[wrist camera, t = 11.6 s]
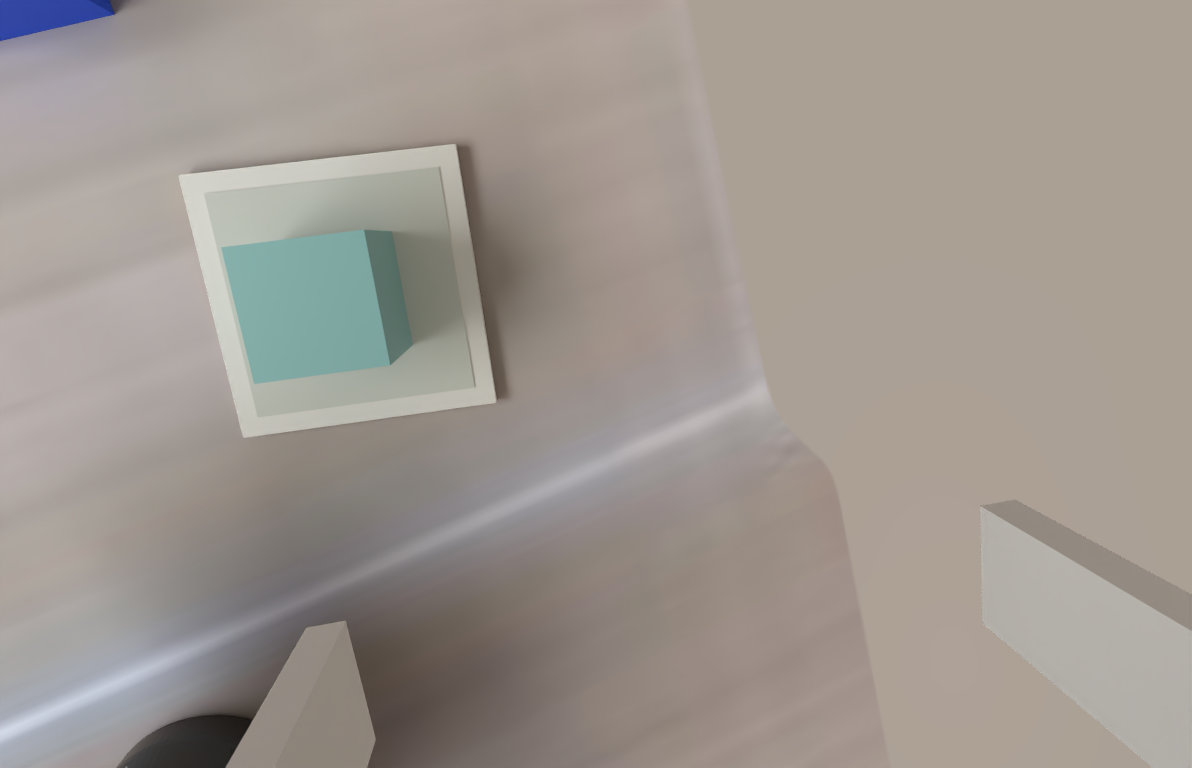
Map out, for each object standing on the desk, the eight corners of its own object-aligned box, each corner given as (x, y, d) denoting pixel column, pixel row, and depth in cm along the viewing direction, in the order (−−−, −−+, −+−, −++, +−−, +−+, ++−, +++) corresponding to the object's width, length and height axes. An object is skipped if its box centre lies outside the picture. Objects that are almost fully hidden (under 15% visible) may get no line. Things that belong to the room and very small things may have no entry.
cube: (299, 360, 42) (254, 384, 35) (273, 245, 40) (221, 247, 33) (412, 345, 42) (390, 365, 35) (391, 231, 41) (363, 229, 34)
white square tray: (248, 434, 43) (242, 438, 42) (185, 176, 40) (177, 175, 39) (496, 399, 44) (496, 403, 43) (456, 145, 41) (455, 143, 40)
